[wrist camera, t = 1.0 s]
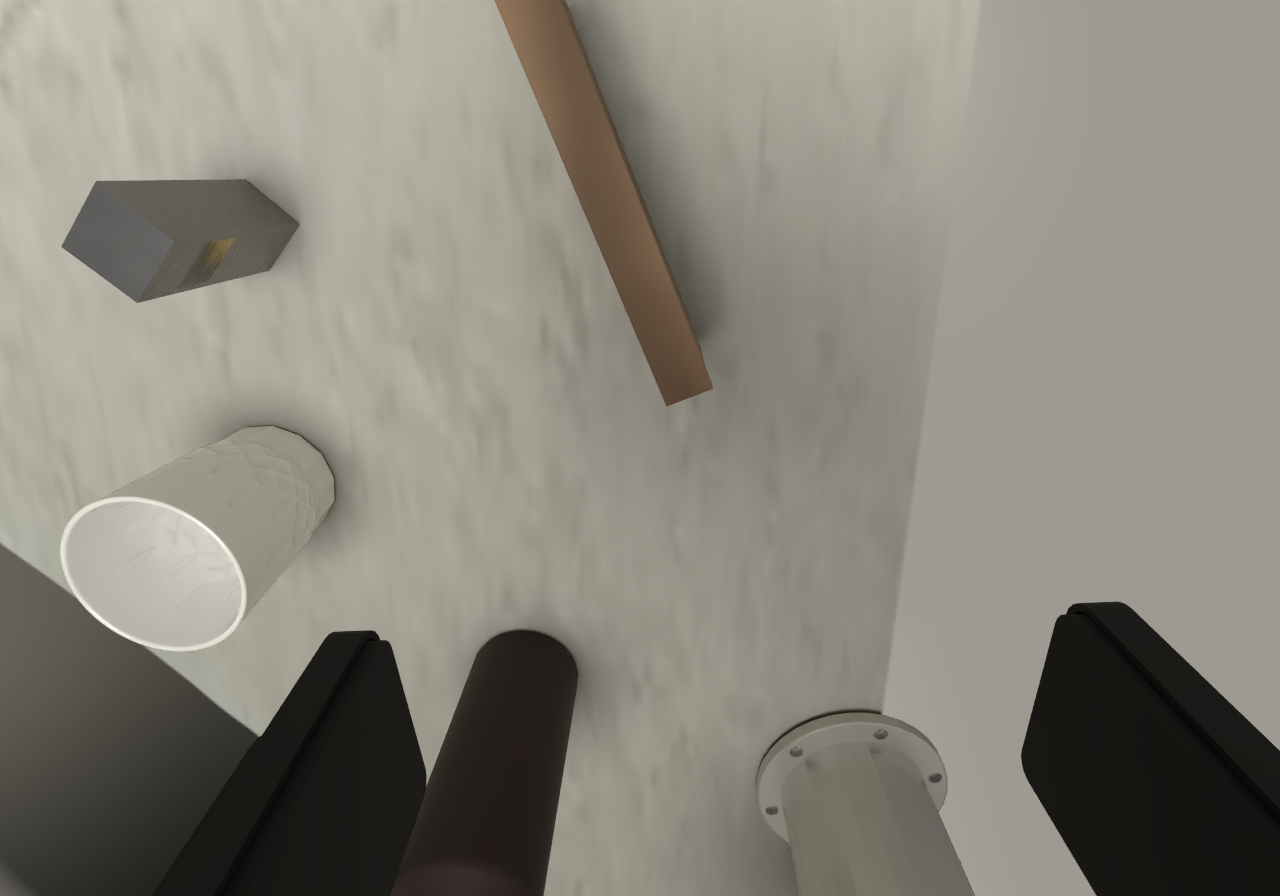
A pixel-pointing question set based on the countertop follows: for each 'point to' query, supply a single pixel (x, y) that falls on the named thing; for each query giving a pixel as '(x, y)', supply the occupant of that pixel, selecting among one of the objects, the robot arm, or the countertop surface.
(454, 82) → the countertop surface
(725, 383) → the countertop surface
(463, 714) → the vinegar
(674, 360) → the brown wooden board
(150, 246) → the post
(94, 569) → the white cup
